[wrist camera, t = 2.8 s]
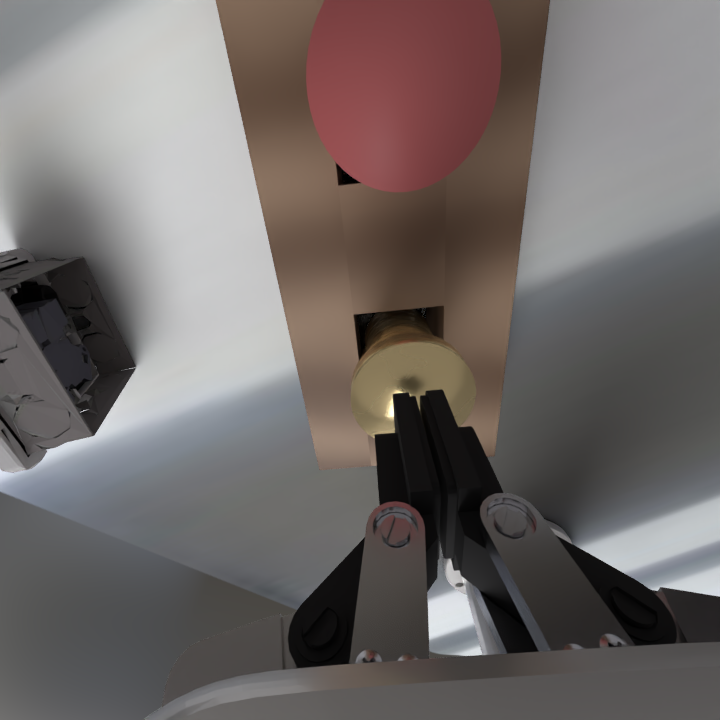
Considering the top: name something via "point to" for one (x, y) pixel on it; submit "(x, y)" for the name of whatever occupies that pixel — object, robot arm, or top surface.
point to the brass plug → (406, 370)
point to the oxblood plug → (402, 86)
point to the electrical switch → (53, 357)
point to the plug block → (384, 221)
